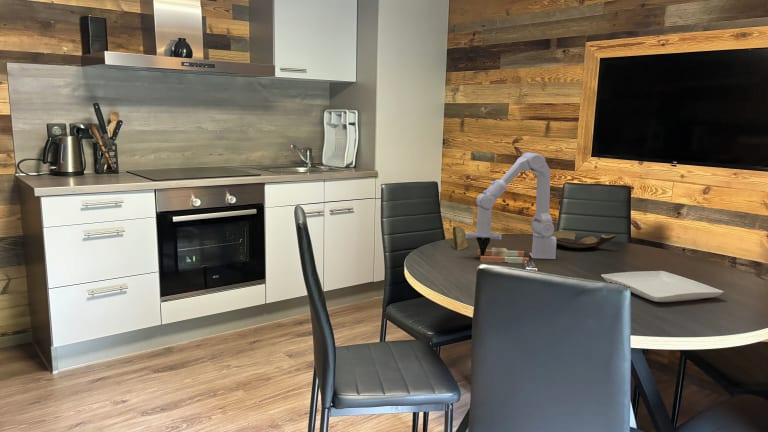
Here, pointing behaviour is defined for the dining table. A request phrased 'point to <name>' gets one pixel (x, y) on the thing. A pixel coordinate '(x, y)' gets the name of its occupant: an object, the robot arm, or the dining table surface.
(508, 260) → the pink-beige flat slab
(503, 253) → the maple block
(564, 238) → the dark brown bowl
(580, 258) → the dining table surface
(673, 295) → the square plate
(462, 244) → the rock
